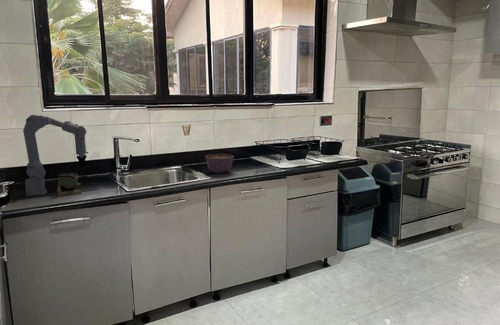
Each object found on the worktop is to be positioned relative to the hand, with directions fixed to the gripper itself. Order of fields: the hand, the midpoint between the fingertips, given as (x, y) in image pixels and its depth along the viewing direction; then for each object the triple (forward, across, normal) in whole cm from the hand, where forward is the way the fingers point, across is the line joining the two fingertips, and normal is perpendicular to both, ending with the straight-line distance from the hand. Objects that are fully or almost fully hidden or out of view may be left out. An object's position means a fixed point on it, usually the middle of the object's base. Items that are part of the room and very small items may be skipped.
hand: (82, 167), depth 231 cm
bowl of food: (+11, -7, -88) cm, 89 cm away
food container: (+11, -15, +7) cm, 20 cm away
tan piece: (+10, -15, +8) cm, 20 cm away
